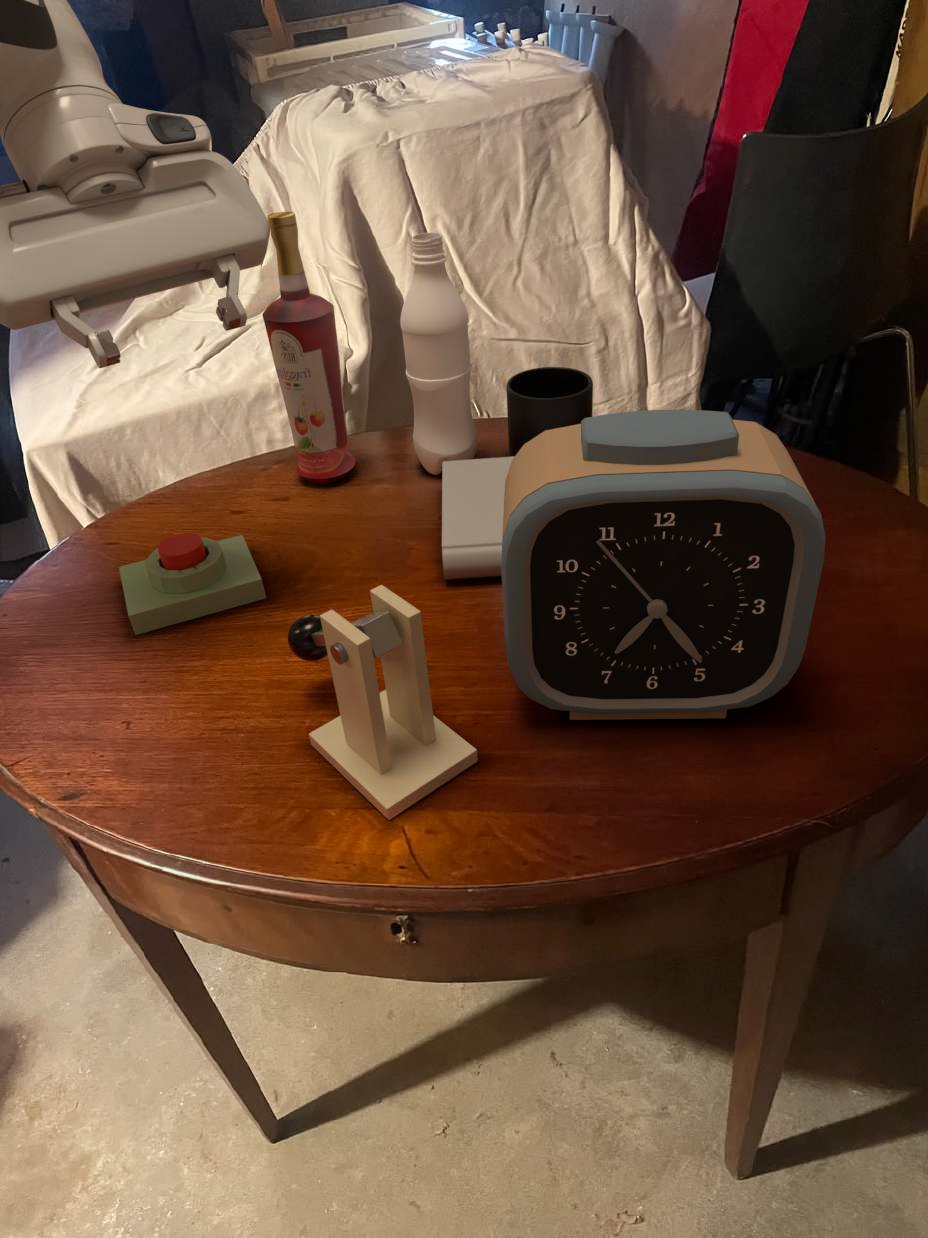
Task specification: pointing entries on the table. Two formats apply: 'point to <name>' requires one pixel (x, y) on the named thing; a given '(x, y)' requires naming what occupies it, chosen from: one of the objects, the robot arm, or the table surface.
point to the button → (182, 551)
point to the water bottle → (437, 359)
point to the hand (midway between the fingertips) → (175, 342)
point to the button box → (190, 586)
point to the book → (473, 516)
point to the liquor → (307, 363)
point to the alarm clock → (657, 566)
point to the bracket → (387, 713)
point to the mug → (546, 402)
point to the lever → (377, 626)
